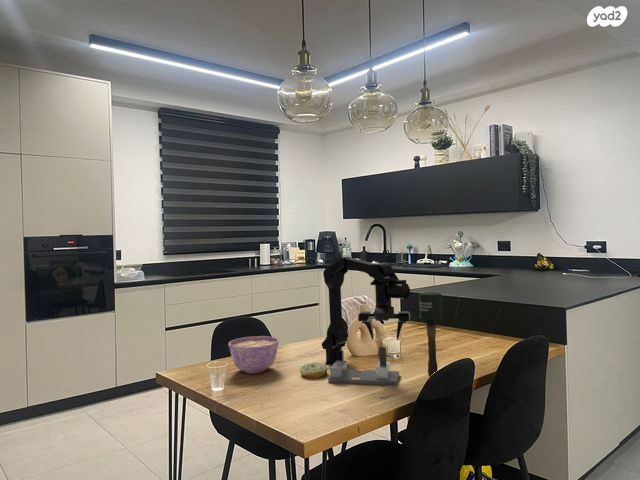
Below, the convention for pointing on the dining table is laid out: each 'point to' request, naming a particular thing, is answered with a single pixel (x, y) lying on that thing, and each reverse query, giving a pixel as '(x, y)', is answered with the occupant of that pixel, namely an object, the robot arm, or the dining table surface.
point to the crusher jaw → (382, 365)
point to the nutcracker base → (359, 376)
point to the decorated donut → (313, 370)
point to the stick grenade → (431, 323)
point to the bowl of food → (254, 353)
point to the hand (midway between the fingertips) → (385, 339)
